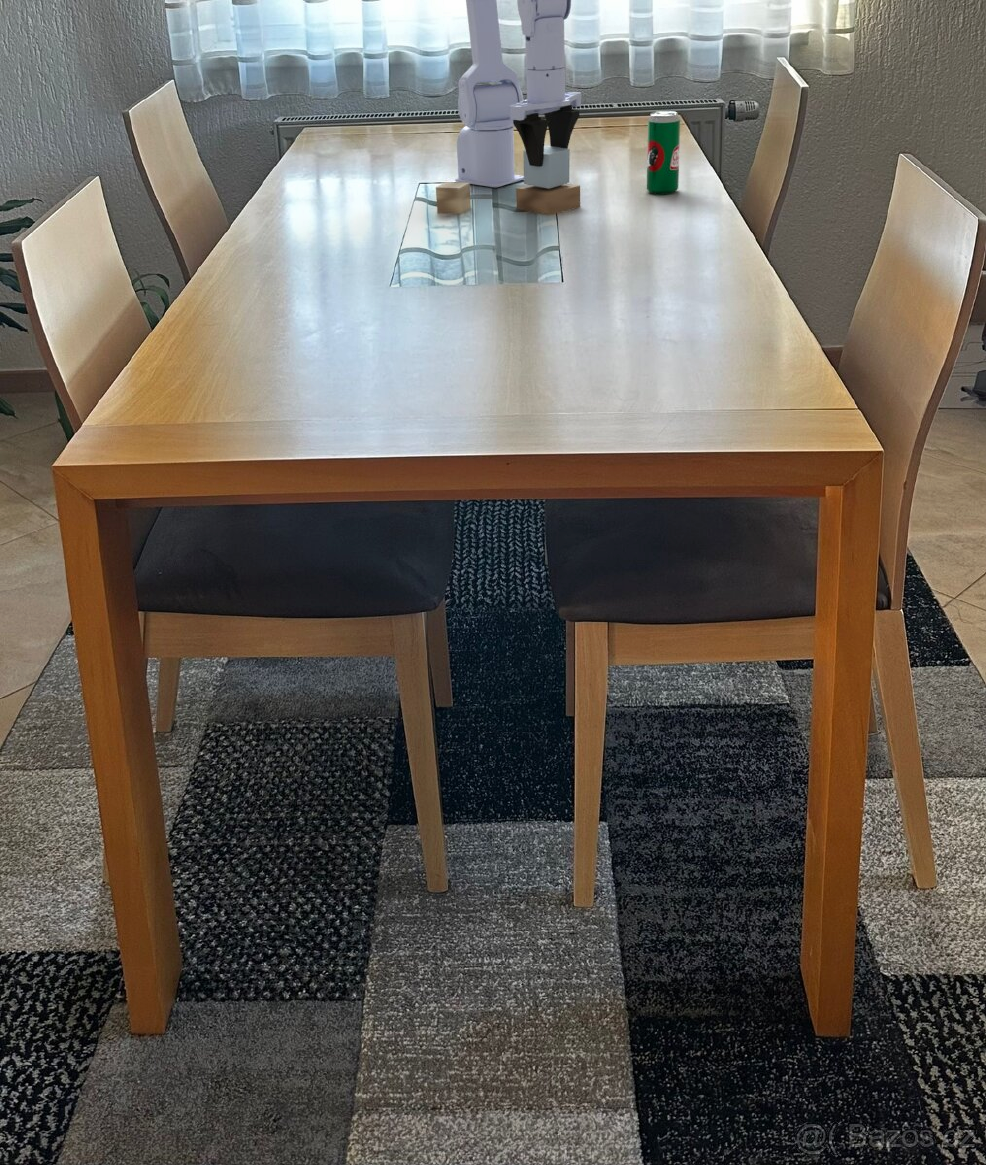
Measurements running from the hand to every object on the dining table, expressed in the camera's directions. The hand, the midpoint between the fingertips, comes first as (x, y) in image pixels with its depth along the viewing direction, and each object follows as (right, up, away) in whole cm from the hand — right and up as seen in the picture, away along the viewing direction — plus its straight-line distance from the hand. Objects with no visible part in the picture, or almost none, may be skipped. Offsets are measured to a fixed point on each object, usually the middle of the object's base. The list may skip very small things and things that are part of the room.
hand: (547, 162), depth 197 cm
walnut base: (0, -6, +3) cm, 7 cm away
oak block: (-14, -6, +4) cm, 16 cm away
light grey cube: (0, -3, +2) cm, 3 cm away
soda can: (+19, -2, +10) cm, 21 cm away
